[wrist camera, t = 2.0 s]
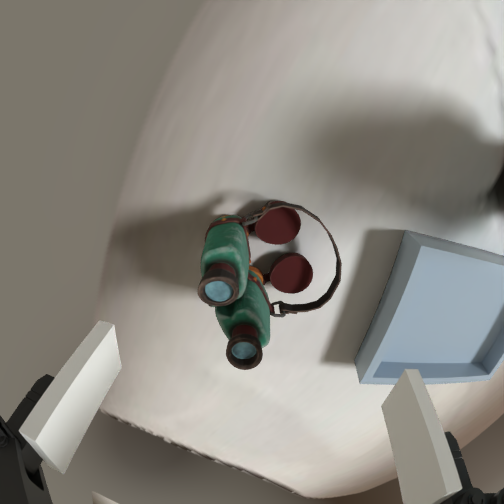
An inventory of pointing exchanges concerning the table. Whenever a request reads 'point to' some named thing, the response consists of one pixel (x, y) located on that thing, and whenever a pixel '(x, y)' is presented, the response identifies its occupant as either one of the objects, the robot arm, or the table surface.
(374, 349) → the light blue rectangular tray
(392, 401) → the robot arm
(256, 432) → the table surface
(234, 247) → the binoculars
